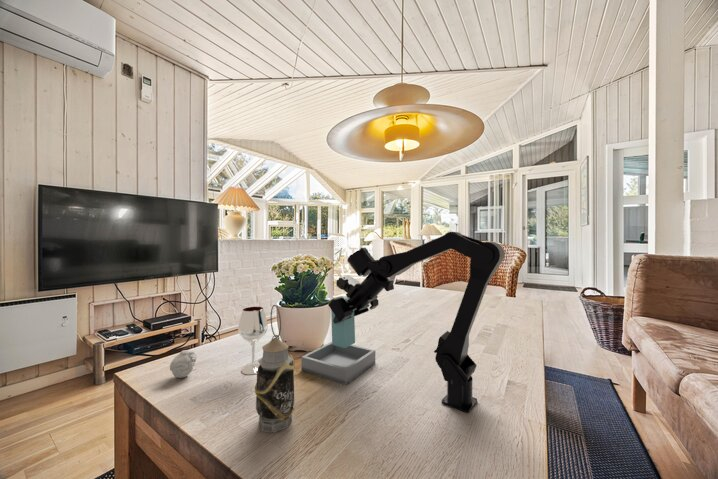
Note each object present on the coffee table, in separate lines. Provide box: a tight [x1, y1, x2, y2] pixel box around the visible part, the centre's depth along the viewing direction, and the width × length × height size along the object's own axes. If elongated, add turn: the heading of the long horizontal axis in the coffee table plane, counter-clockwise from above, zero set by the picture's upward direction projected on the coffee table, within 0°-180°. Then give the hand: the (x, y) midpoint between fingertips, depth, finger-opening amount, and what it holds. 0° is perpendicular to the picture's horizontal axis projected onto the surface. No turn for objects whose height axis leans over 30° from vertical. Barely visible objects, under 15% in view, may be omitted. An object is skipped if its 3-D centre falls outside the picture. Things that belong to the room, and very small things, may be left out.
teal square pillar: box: [330, 295, 356, 348], centre depth 90 cm, size 5×5×14 cm
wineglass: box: [237, 306, 269, 376], centre depth 87 cm, size 8×8×18 cm
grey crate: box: [300, 341, 376, 386], centre depth 89 cm, size 16×16×4 cm
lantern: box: [254, 304, 296, 433], centre depth 62 cm, size 9×8×25 cm
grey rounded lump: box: [169, 349, 197, 379], centre depth 82 cm, size 6×7×7 cm
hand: (339, 320), depth 91 cm, fingers closed on teal square pillar, 5 cm apart
